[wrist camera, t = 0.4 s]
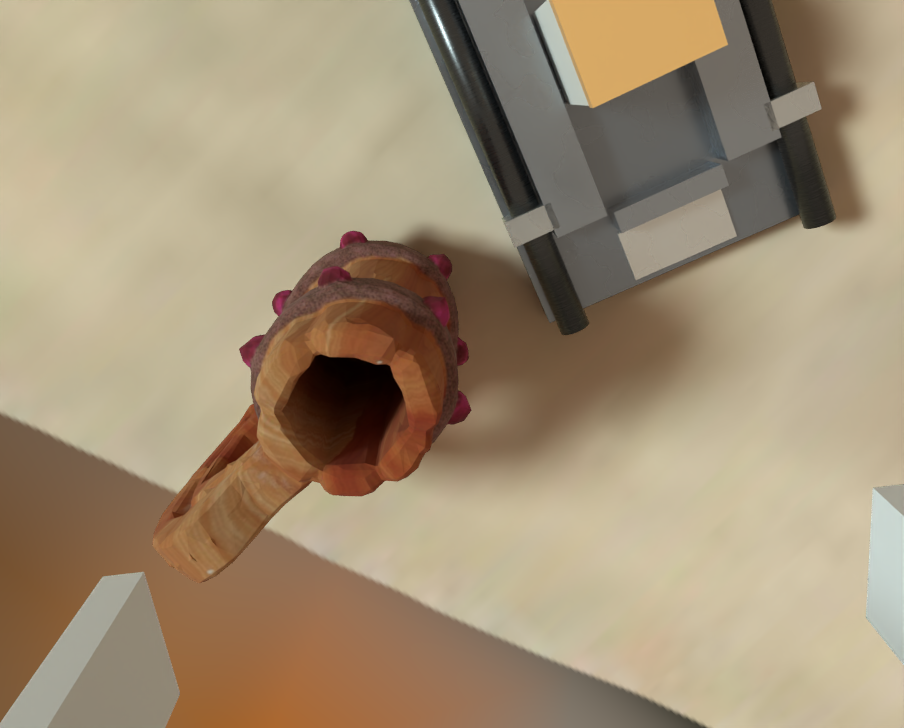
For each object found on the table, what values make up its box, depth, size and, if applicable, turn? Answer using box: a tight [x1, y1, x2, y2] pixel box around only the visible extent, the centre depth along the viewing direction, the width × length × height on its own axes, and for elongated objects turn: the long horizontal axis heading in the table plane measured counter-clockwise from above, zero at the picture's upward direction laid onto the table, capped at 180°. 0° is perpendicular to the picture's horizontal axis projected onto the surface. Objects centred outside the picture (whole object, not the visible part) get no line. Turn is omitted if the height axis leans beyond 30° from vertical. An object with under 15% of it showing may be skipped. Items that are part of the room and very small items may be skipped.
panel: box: [410, 0, 836, 335], centre depth 34 cm, size 25×14×3 cm, turn 25°
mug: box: [152, 231, 471, 583], centre depth 33 cm, size 15×8×15 cm, turn 131°
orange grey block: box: [532, 0, 728, 108], centre depth 31 cm, size 4×5×7 cm
